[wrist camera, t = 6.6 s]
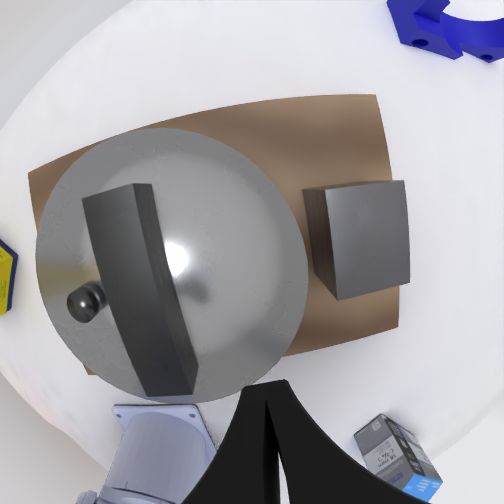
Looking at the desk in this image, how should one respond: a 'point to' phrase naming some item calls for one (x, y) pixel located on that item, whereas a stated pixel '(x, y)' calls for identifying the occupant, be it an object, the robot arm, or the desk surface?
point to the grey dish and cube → (359, 236)
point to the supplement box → (6, 277)
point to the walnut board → (292, 186)
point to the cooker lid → (171, 266)
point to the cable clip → (446, 30)
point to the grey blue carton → (397, 458)
